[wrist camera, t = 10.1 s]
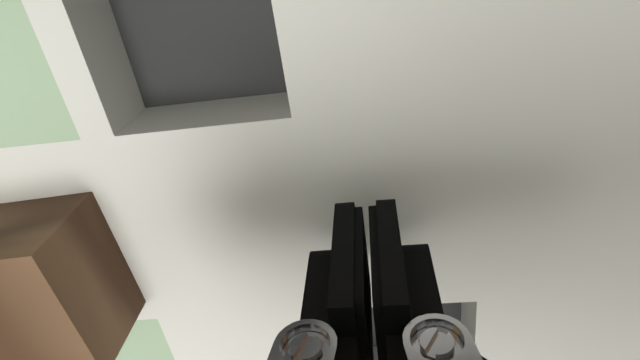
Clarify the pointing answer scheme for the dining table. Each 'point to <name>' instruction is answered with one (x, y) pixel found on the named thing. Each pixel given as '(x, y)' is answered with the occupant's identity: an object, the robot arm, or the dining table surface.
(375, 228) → the robot arm
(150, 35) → the trap box
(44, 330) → the walnut block
